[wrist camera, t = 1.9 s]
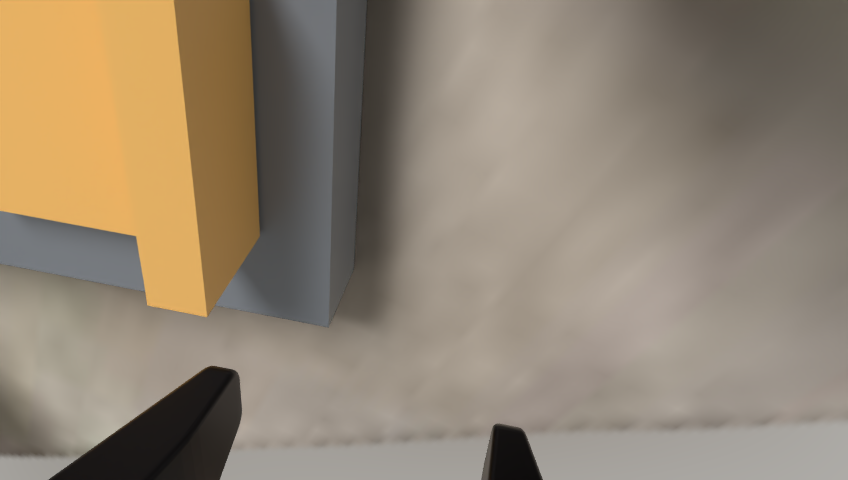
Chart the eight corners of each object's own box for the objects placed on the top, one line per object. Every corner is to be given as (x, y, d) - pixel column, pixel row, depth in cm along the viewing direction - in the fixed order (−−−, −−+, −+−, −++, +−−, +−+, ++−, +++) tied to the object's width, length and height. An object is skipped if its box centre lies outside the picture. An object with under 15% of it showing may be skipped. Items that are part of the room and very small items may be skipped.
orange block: (245, -69, 15) (171, -28, 13) (260, 236, 20) (206, 317, 17) (-96, -119, 16) (-242, -90, 13) (-7, 187, 21) (-100, 256, 18)
